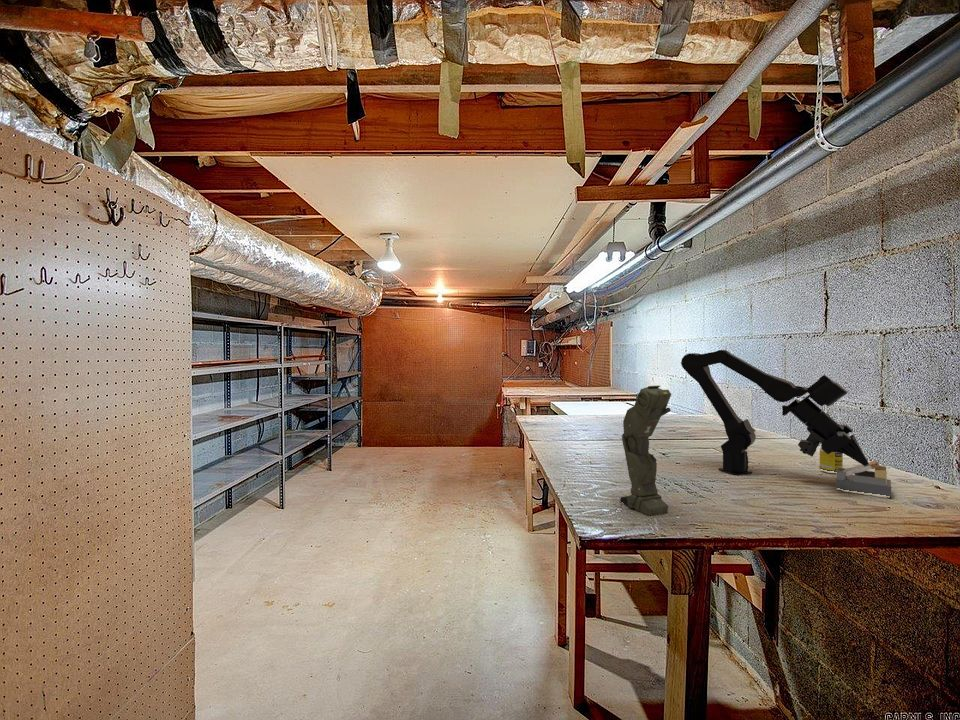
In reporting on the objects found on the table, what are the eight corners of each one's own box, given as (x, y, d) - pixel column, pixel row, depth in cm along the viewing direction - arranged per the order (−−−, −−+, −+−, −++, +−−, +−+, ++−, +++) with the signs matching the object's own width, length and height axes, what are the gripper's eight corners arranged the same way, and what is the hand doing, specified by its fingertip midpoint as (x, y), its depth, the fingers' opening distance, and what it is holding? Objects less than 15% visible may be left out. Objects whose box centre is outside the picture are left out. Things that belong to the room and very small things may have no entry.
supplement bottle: (837, 475, 128) (837, 442, 128) (816, 471, 133) (815, 439, 133) (846, 473, 131) (846, 440, 131) (824, 469, 136) (824, 437, 136)
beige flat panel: (837, 474, 116) (876, 463, 110) (838, 470, 119) (876, 459, 114) (840, 478, 115) (879, 467, 110) (841, 474, 119) (879, 464, 113)
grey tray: (835, 490, 114) (835, 465, 114) (838, 483, 120) (837, 460, 120) (891, 499, 107) (891, 472, 107) (890, 491, 113) (890, 466, 113)
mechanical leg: (606, 494, 111) (624, 379, 104) (629, 490, 114) (648, 378, 107) (643, 526, 99) (667, 398, 92) (669, 521, 101) (693, 397, 94)
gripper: (792, 431, 131) (840, 475, 124) (782, 440, 117) (835, 490, 110) (826, 407, 126) (878, 451, 119) (820, 414, 112) (878, 464, 105)
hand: (866, 464), depth 113 cm, fingers closed, pressing on beige flat panel
